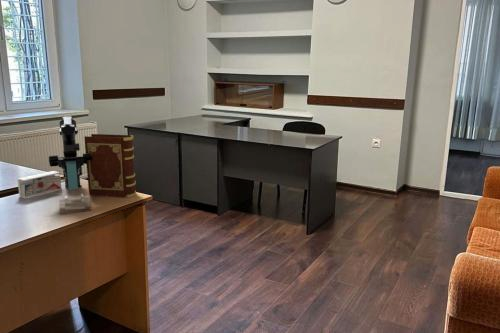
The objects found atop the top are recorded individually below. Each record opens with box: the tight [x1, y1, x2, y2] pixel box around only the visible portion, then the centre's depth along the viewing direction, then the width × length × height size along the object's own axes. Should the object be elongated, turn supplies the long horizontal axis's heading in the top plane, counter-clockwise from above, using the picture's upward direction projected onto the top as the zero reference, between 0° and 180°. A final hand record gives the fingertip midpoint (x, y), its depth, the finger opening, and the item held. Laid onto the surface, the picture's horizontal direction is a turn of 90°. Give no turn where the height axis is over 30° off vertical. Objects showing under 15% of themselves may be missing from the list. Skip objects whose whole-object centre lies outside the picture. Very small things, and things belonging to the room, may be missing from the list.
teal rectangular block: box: [66, 161, 79, 190], centre depth 196 cm, size 6×4×12 cm, turn 24°
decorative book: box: [84, 133, 137, 198], centre depth 206 cm, size 22×8×30 cm, turn 84°
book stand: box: [58, 193, 92, 215], centre depth 191 cm, size 18×13×4 cm
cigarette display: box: [16, 170, 62, 199], centre depth 210 cm, size 20×6×9 cm, turn 146°
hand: (72, 174), depth 195 cm, fingers closed on teal rectangular block, 4 cm apart
